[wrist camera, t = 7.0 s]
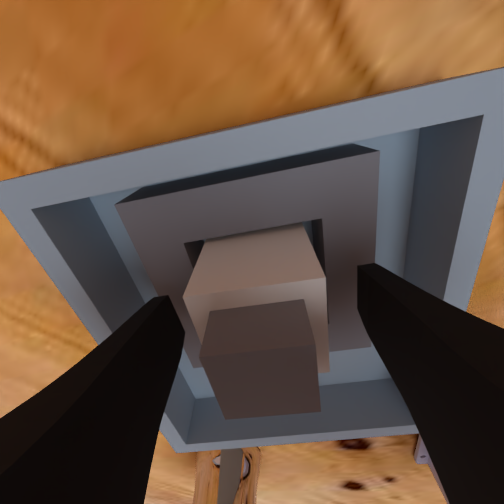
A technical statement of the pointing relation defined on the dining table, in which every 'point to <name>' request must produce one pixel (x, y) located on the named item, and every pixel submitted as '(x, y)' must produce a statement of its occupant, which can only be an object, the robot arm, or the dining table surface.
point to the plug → (261, 321)
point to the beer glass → (227, 476)
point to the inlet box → (277, 214)
